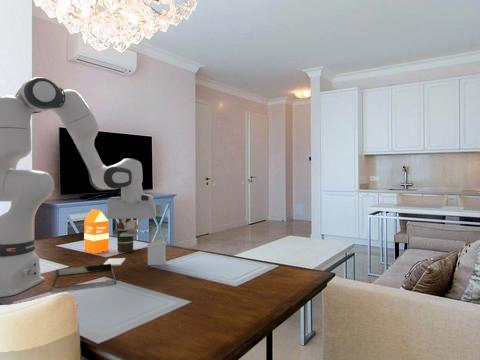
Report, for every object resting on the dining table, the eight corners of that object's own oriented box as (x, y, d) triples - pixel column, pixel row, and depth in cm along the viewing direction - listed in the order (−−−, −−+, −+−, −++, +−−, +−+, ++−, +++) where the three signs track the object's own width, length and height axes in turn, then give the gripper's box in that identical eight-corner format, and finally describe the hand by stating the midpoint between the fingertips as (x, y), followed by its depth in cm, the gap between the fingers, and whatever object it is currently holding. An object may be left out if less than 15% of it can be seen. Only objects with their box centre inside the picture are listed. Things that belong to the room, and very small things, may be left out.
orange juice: (93, 253, 160) (93, 211, 159) (84, 251, 165) (83, 209, 165) (109, 250, 166) (108, 209, 166) (99, 248, 171) (98, 208, 171)
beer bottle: (136, 249, 169) (136, 200, 168) (129, 252, 161) (129, 202, 160) (121, 248, 170) (121, 200, 169) (114, 252, 162) (113, 202, 161)
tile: (165, 264, 140) (165, 243, 140) (147, 265, 140) (147, 243, 139) (165, 263, 142) (165, 242, 142) (148, 264, 141) (148, 242, 141)
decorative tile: (115, 288, 115) (114, 270, 134) (115, 279, 115) (114, 262, 134) (48, 296, 108) (56, 276, 127) (47, 287, 108) (56, 268, 127)
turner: (135, 236, 137) (135, 223, 137) (119, 236, 136) (119, 224, 136) (140, 231, 149) (140, 220, 149) (126, 232, 148) (126, 220, 148)
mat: (120, 265, 139) (120, 264, 139) (102, 266, 138) (102, 264, 138) (125, 259, 149) (125, 258, 149) (109, 259, 148) (108, 258, 148)
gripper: (104, 197, 141) (104, 230, 141) (155, 196, 144) (155, 229, 143) (108, 196, 147) (108, 228, 147) (156, 196, 150) (156, 227, 150)
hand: (131, 229), depth 145 cm, fingers closed on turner, 3 cm apart
